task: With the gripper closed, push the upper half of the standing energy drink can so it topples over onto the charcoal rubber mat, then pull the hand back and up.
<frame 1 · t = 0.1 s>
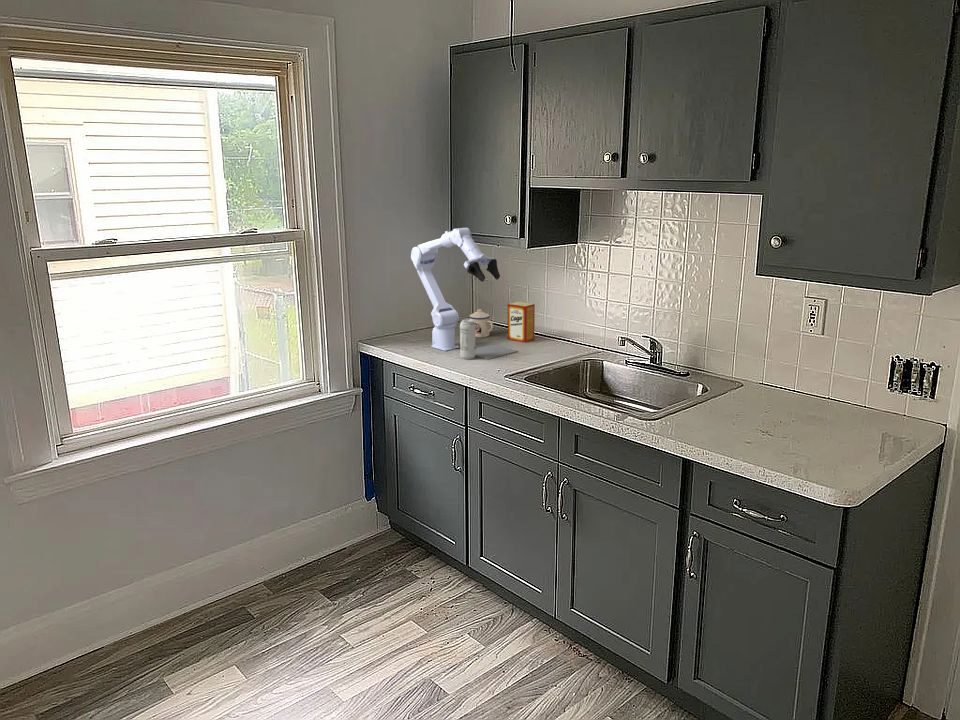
hand: (491, 278, 280), 32 cm above the worktop, tool tilted 50°, fingers open, 7 cm apart
energy drink can: (468, 358, 293), on the worktop
baking soda box: (520, 340, 320), on the worktop
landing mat: (490, 352, 300), on the worktop
teacup with lid: (482, 336, 328), on the worktop
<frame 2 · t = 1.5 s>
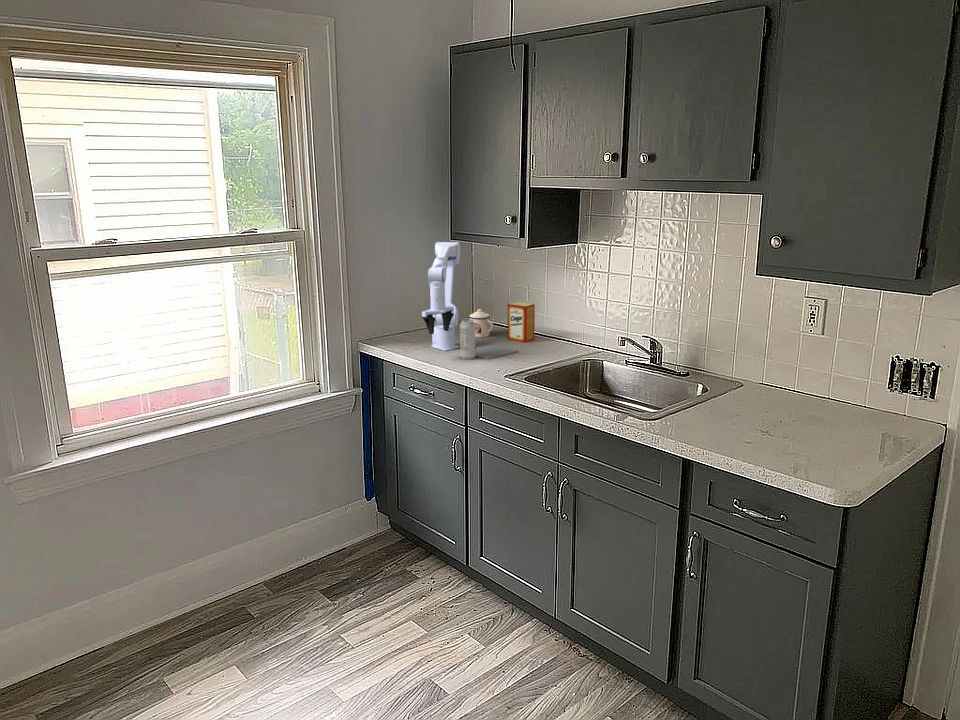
hand: (438, 332, 290), 10 cm above the worktop, tool pointing down, fingers open, 7 cm apart
nothing on the worktop moved.
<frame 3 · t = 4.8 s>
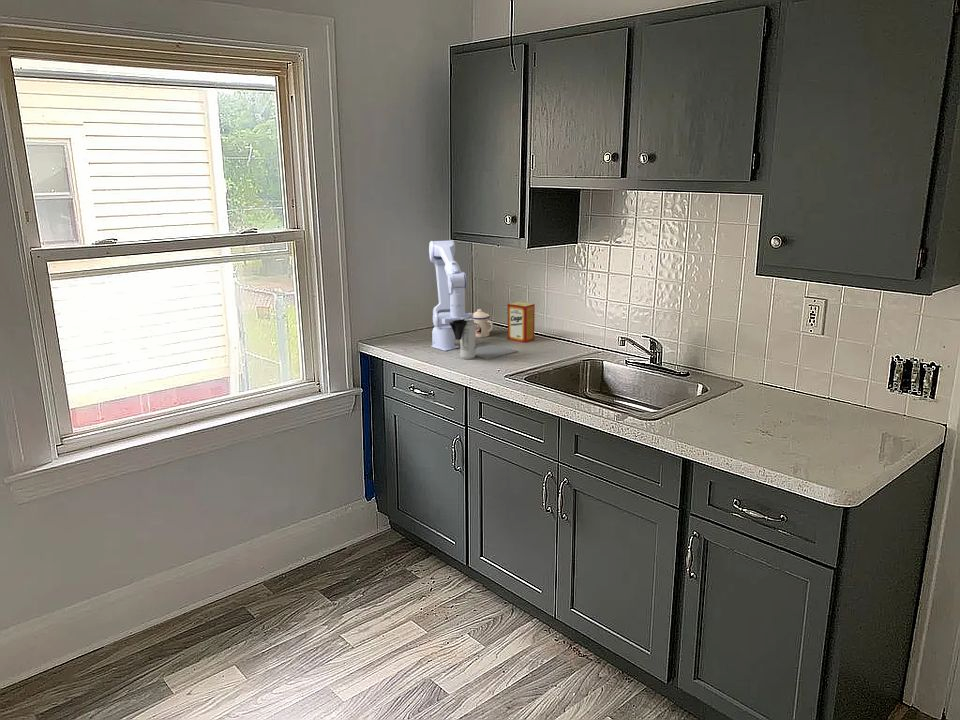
hand: (458, 339, 287), 8 cm above the worktop, tool pointing down, fingers closed
energy drink can: (468, 358, 293), on the worktop, touching gripper
everything else where it was.
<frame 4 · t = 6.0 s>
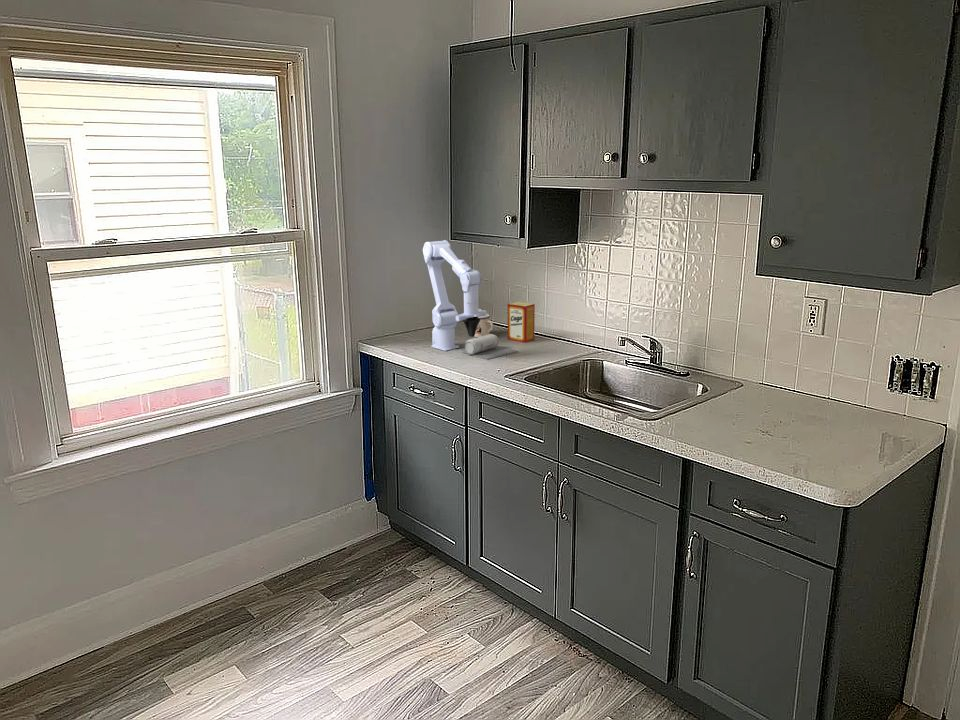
hand: (471, 336, 292), 8 cm above the worktop, tool pointing down, fingers closed
energy drink can: (468, 347, 295), point 3 cm above the worktop, touching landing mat
everything else where it was.
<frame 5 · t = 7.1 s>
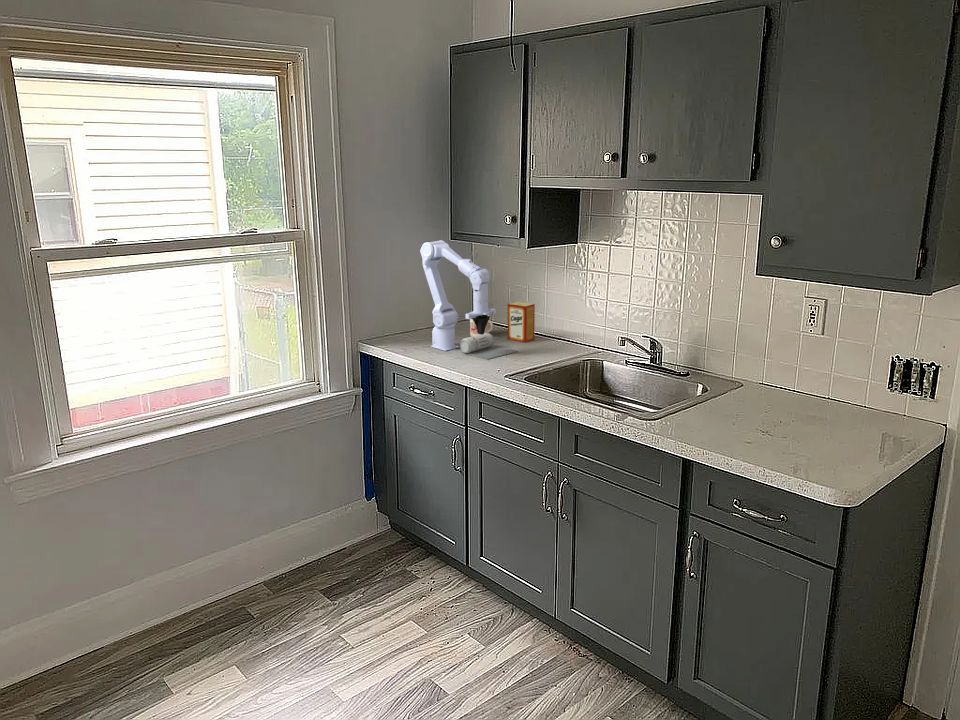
hand: (481, 334, 295), 8 cm above the worktop, tool pointing down, fingers closed
energy drink can: (463, 346, 296), point 3 cm above the worktop, touching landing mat
everything else where it was.
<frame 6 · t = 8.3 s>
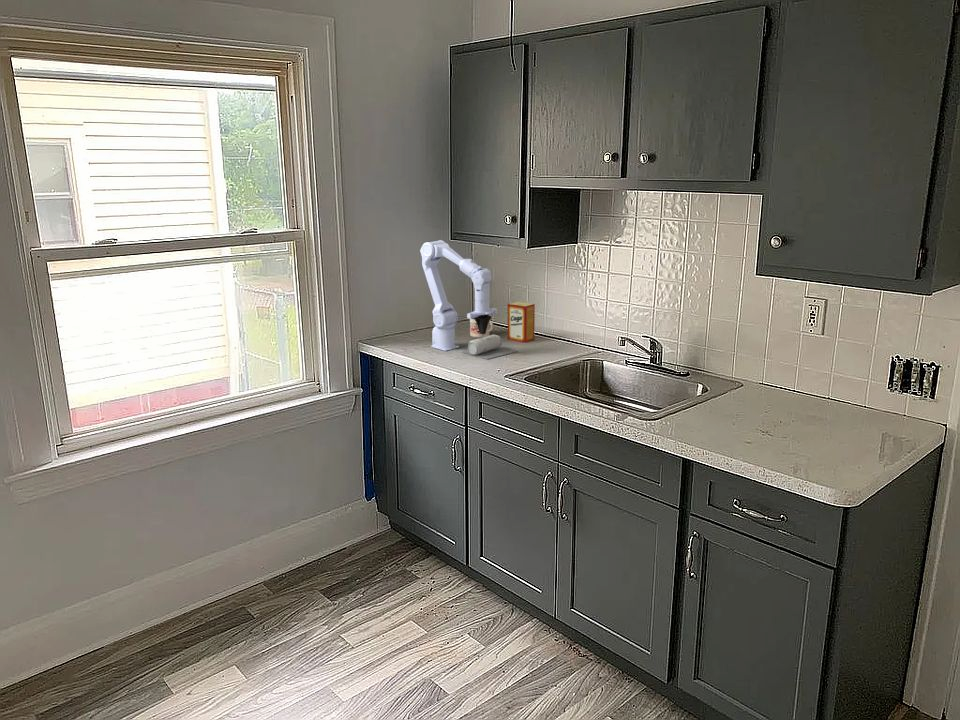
hand: (482, 333, 295), 8 cm above the worktop, tool pointing down, fingers closed
energy drink can: (471, 348, 293), point 3 cm above the worktop, touching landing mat
everything else where it was.
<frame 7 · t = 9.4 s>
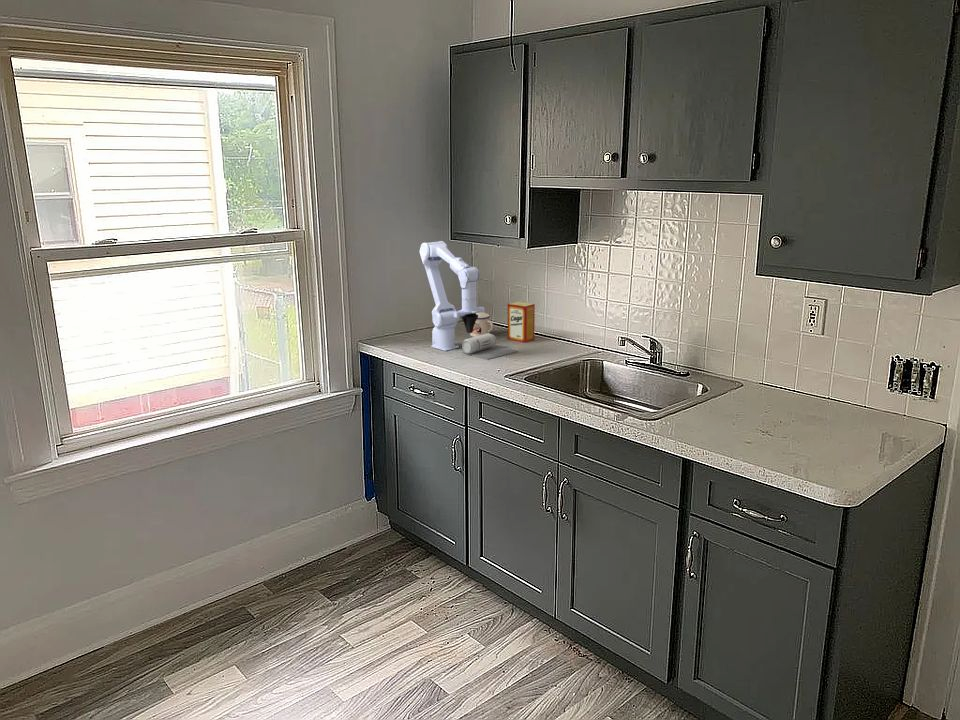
hand: (469, 332, 293), 10 cm above the worktop, tool pointing down, fingers closed
energy drink can: (466, 346, 296), point 3 cm above the worktop, touching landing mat
everything else where it was.
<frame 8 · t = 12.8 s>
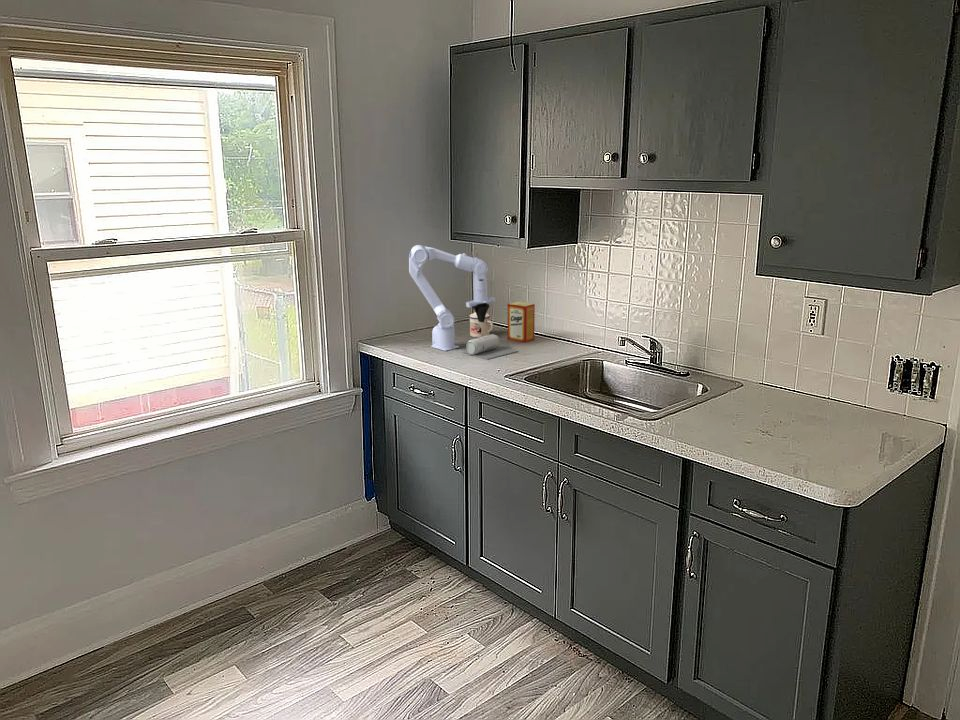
hand: (481, 321, 307), 10 cm above the worktop, tool pointing down, fingers closed
energy drink can: (470, 347, 294), point 3 cm above the worktop, touching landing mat
everything else where it was.
at the end: energy drink can tilted 90°; energy drink can inside the target area on the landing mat (8.2 cm from its centre), point 3.4 cm above the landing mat's base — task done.
